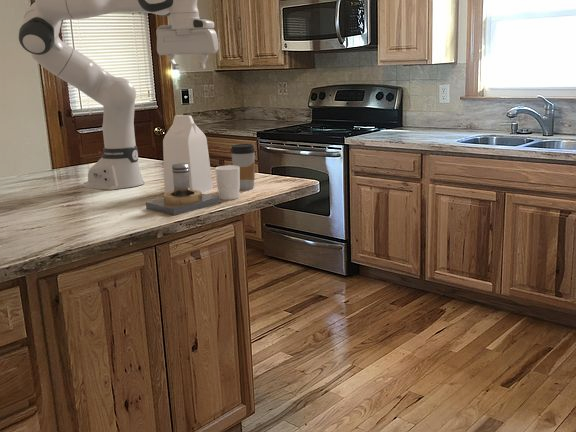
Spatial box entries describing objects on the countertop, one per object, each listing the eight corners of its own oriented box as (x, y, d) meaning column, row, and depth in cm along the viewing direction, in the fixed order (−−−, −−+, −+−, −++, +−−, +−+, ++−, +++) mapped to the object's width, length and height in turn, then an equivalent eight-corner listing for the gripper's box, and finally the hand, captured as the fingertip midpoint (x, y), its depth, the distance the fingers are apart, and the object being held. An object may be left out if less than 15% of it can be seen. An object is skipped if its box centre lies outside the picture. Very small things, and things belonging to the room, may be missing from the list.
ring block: (174, 215, 182) (172, 202, 181) (146, 208, 191) (145, 196, 190) (220, 203, 194) (219, 190, 193) (192, 197, 204) (191, 185, 203)
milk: (213, 189, 216) (207, 114, 209) (193, 196, 206) (186, 117, 199) (185, 186, 221) (179, 113, 214) (164, 193, 211) (157, 117, 205)
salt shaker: (174, 202, 189) (171, 166, 186) (174, 198, 194) (172, 163, 191) (191, 201, 190) (188, 165, 187) (191, 197, 195) (188, 162, 192)
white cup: (217, 195, 205) (215, 166, 203) (241, 194, 206) (239, 164, 203) (216, 201, 197) (214, 170, 195) (241, 199, 198) (239, 168, 196)
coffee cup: (253, 191, 210) (251, 147, 206) (230, 191, 211) (227, 147, 208) (259, 185, 218) (257, 143, 214) (236, 185, 219) (234, 143, 215)
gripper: (150, 25, 193) (154, 70, 197) (210, 21, 187) (213, 68, 191) (160, 25, 199) (164, 69, 203) (219, 22, 193) (221, 67, 196)
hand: (188, 69), depth 197 cm, fingers open, 8 cm apart
